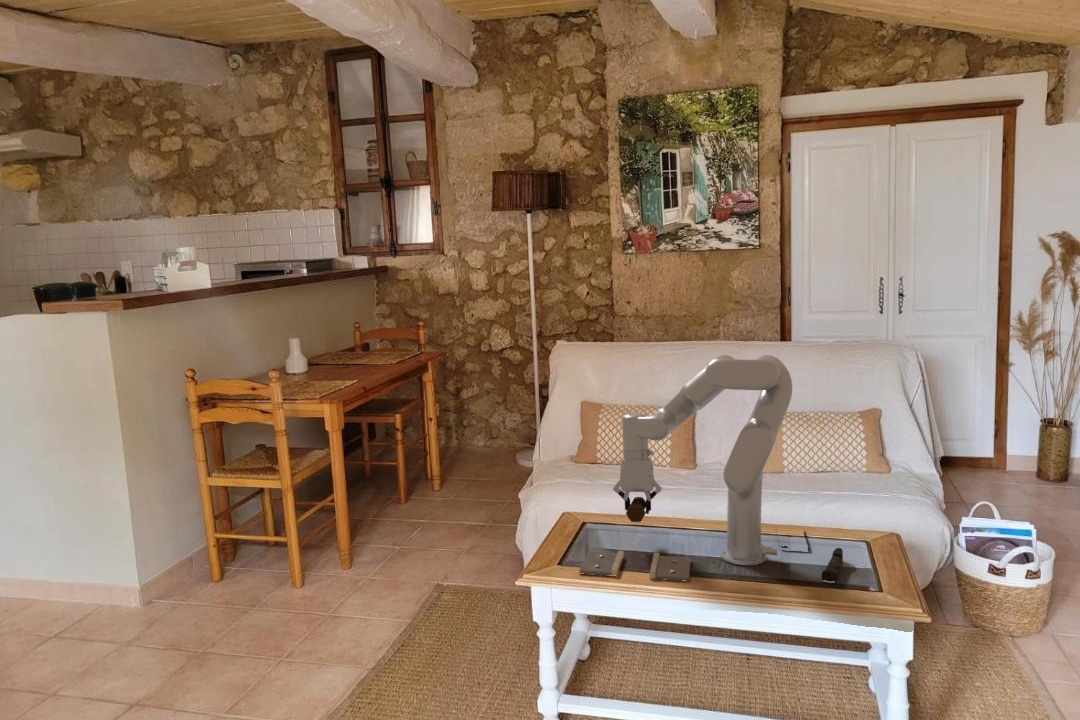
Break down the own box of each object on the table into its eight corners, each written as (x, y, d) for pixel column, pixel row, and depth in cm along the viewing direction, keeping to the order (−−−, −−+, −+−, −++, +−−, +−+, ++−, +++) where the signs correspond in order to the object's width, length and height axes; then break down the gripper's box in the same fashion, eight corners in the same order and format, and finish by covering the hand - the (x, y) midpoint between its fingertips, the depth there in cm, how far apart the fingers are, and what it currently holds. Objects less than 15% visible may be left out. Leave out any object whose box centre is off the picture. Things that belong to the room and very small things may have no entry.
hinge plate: (690, 561, 230) (690, 555, 230) (688, 581, 215) (688, 574, 215) (588, 555, 237) (588, 548, 236) (579, 574, 222) (579, 567, 222)
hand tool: (836, 586, 211) (837, 569, 211) (820, 583, 213) (821, 566, 213) (850, 563, 227) (850, 547, 227) (835, 560, 229) (836, 545, 229)
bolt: (642, 512, 249) (638, 526, 235) (628, 504, 250) (623, 517, 235) (651, 497, 248) (647, 509, 234) (637, 489, 249) (632, 501, 235)
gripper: (665, 451, 242) (667, 509, 244) (609, 451, 246) (612, 508, 248) (663, 457, 235) (665, 516, 237) (606, 457, 239) (608, 515, 241)
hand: (638, 512), depth 242 cm, fingers closed on bolt, 5 cm apart
